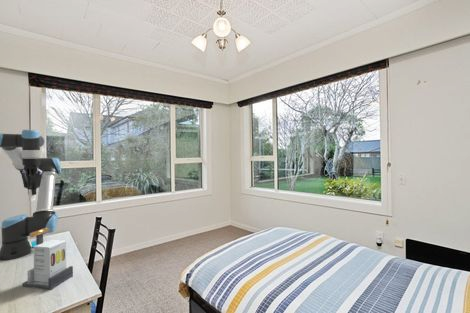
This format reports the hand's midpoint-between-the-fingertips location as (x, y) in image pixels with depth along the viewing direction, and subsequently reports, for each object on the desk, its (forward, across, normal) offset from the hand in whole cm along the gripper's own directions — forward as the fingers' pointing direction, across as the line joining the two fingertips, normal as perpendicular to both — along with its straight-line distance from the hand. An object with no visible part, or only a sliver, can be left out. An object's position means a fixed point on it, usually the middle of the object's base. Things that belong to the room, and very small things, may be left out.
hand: (32, 200), depth 131 cm
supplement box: (+35, -24, +12) cm, 44 cm away
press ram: (+34, -18, +12) cm, 40 cm away
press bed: (+36, -24, +12) cm, 45 cm away
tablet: (+37, +26, -27) cm, 53 cm away
